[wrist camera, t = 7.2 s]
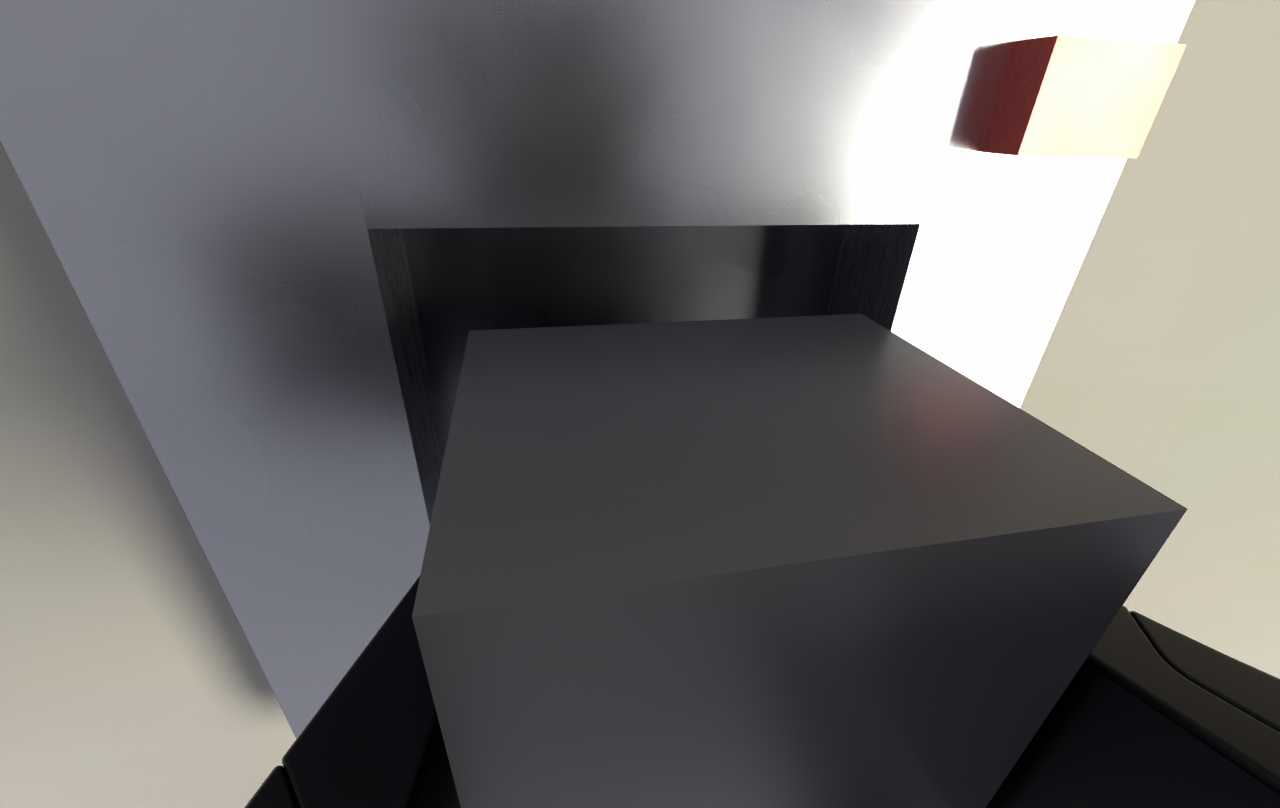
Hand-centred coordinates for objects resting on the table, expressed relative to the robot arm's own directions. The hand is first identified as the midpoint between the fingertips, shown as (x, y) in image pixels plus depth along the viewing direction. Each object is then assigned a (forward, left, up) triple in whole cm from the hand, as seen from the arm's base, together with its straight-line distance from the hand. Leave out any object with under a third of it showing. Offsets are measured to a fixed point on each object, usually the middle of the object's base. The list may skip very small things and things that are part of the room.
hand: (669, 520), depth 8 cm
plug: (0, 0, -1) cm, 1 cm away
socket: (0, 0, -3) cm, 3 cm away
